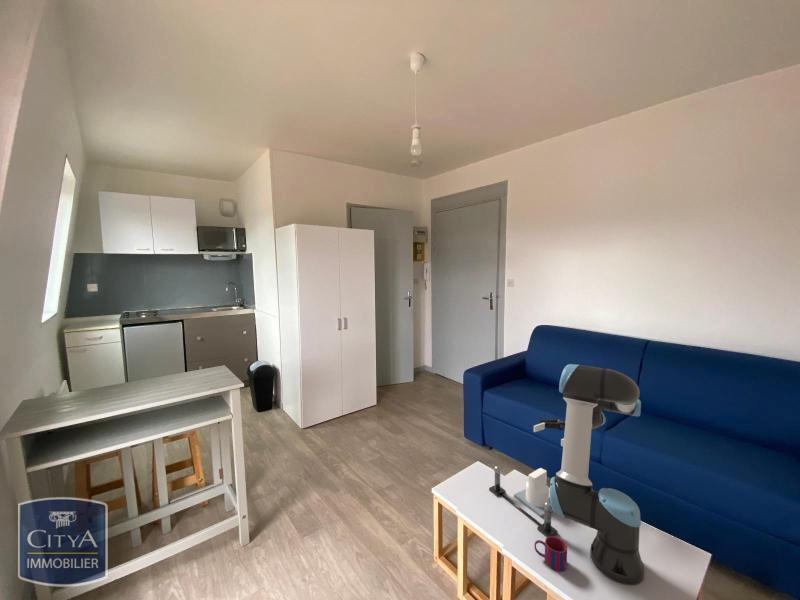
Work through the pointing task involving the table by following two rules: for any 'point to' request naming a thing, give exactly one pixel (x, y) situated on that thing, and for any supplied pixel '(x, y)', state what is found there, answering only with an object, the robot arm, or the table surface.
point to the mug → (554, 553)
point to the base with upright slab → (537, 488)
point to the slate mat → (522, 498)
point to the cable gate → (543, 528)
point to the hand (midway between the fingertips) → (547, 435)
